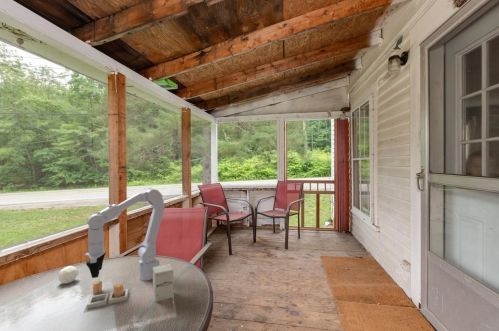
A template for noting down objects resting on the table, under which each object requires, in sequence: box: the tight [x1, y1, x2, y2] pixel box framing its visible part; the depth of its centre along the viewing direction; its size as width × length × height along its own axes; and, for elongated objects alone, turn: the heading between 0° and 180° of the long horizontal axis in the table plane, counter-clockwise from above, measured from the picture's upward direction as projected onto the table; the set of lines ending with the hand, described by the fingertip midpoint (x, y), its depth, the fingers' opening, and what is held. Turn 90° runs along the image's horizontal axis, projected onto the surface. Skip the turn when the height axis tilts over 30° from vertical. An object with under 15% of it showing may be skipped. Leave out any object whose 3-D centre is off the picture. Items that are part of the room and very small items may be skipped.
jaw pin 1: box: [92, 280, 103, 295], centre depth 103 cm, size 3×3×5 cm
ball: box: [57, 265, 79, 285], centre depth 115 cm, size 8×8×8 cm
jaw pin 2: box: [113, 283, 124, 298], centre depth 98 cm, size 3×3×5 cm
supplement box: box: [152, 263, 175, 303], centre depth 99 cm, size 7×7×13 cm
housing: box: [83, 288, 131, 313], centre depth 96 cm, size 15×11×3 cm
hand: (96, 273), depth 103 cm, fingers open, 7 cm apart
